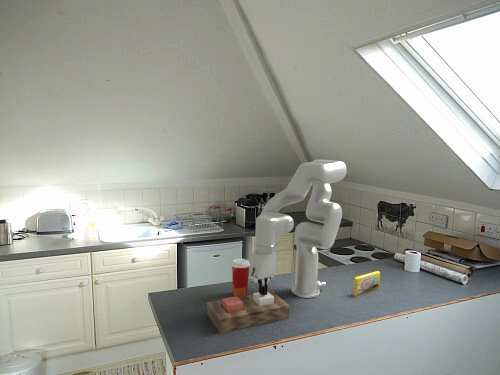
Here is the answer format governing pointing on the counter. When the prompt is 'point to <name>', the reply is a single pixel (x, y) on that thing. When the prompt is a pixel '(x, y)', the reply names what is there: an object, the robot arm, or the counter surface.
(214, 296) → the counter surface
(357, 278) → the candy box
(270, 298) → the white key
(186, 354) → the counter surface
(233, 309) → the red key
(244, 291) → the coffee cup
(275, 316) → the panel
